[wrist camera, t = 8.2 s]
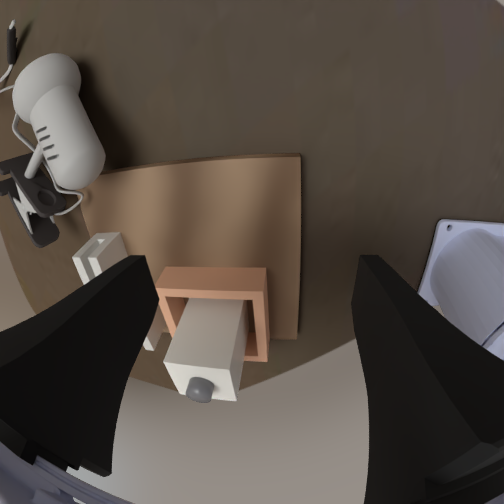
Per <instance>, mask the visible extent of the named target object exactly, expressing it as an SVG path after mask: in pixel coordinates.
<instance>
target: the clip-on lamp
mask: <svg viewBox="0 0 504 504" xmlns="http://www.w3.org/2000/svg"><path fill="white" fill-rule="evenodd" d="M15 23H16V21H15V19H13V21H12V23H11V25H10V27H9V28H8V29H7V59H8V63H9V65H10V66H9V68H8V70H7V72H6V73H5V74H4V75H3V77H2V78H1V79H0V83H1V82H2V81H3V80H4V79H5V78H6V77H7V76H8V75H9V73H10V71H11V69H12V67H13V63H15V61H16V51H17V48H16V42H17V38H16V29H15V27H14V25H15ZM80 86H81V75H80V72H79V68H78V66H77V64H76V63H75V62H74V61H73V60H72V59H71V58H70V57H69V56H67V55H65V54H60V53H53V54H48V55H45V56H42V57H40V58H38V59H36V60H35V61H33V62H32V63H30V64H29V65H28V66H27V67H26V68H25V69H24V70H23V71H22V72H21V73H20V75H19V76H18V78H17V80H16V82H15V85H12V86H9V87H6V88H4V89H2V90H0V93H1V92H3V91H5V90H8V89H11V88H14V89H13V95H12V97H13V104H14V109H15V111H16V115H15V118H14V121H13V125H12V129H13V132H14V133H15V135H16V136H17V137H18V138H19V139H20V140H21V141H23V142H24V143H25V144H26V145H27V146H28V147H29V148H30V149H31V150H32V151H33V153H30V154H26V155H22V156H19V157H15V158H12V159H9V160H5V161H2V162H0V174H1V175H6V174H9V173H10V174H11V176H12V177H11V178H9V179H6V180H3V181H0V196H4V195H6V194H8V196H9V198H10V200H11V202H12V204H13V206H14V208H15V210H16V212H17V214H18V216H19V218H20V220H21V222H22V224H23V226H24V228H25V229H26V231H27V233H28V235H29V237H30V238H31V240H32V242H33V244H34V245H35V246H36V247H39V248H42V247H45V246H47V245H49V244H50V243H52V242H54V241H56V240H57V239H58V237H59V233H60V232H59V229H58V228H57V226H56V224H55V222H54V219H53V215H54V214H55V215H63V214H66V213H68V212H69V211H71V210H72V209H74V208H75V207H76V206H77V205H78V204H79V203H80V202H81V201H82V200H83V198H84V194H83V193H82V192H80V191H71V190H77V189H82V188H84V187H87V186H88V185H90V184H91V183H92V182H94V181H95V180H96V179H97V177H98V176H99V174H100V173H101V171H102V169H103V166H104V163H105V157H106V155H105V152H104V149H103V147H102V145H101V143H100V141H99V139H98V137H97V135H96V133H95V130H94V128H93V126H92V124H91V122H90V120H89V118H88V116H87V114H86V112H85V109H84V107H83V105H82V103H81V101H80V98H79V96H78V95H79V91H80ZM20 118H21V119H22V120H24V121H25V122H27V123H30V124H32V127H33V130H34V132H35V135H36V137H37V140H38V142H39V143H38V145H37V147H35V146H34V145H33V144H32V143H31V142H30V141H29V140H28V139H26V138H25V137H24V136H23V135H22V134H21V133H20V132H19V131H18V129H17V125H18V122H19V119H20ZM41 162H43V164H44V165H45V167H46V168H47V170H48V172H49V174H50V176H51V178H52V180H53V183H54V185H53V184H52V183H51V181H50V180H49V179H48V178H47V177H46V175H45V174H44V173H43V171H42V170H41V169H40V168H39V166H40V164H41ZM60 186H61V187H62V188H65V189H69V190H63V189H61V188H60ZM60 193H65V194H78V195H80V196H81V199H80V200H79V201H78V202H77V203H76V204H75V205H73V206H72V207H70V208H69V209H67V210H64V209H65V206H66V200H65V198H64V197H63V196H62V195H61V194H60ZM63 210H64V211H63Z"/></svg>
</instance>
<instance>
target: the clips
mask: <svg viewBox="0 0 504 504" xmlns="http://www.w3.org/2000/svg"><path fill="white" fill-rule="evenodd" d="M126 257H128V255H127V252H126V249H125V246H124V243H123V240H122V237H121V233H120V232H111V233H96V234H95V235H94V236H93V237H92V238H91V239H90V240H89V241H88V242H87V243H86V244H85V245H84V246H83V247H82V248H81V249H80V250H79V251H78V252H77V253H76V254H75V255H74V256H73V257H72V258H73V261H74V263H75V265H76V268H77V270H78V272H79V275H80V277H81V279H82V281H83V283H84V285H85V284H86V283H88V282H89V281H90V280H92V279H93V278H95V277H96V276H98V275H99V274H101V273H102V272H104V271H105V270H107V269H108V268H110V267H111V266H113V265H114V264H116V263H117V262H119V261H121V260H122V259H124V258H126ZM165 325H166V321H165V319H164V316H163V313H162V311H161V308H160V305H159V303H158V307H157V310H156V314H155V317H154V320H153V323H152V325H151V327H150V330H149V332H148V334H147V336H146V338H145V341H144V343H143V345H144V347H145V349H146V350H153V351H154V350H155V347H156V345H157V343H158V340H159V338H160V336H161V334H162V331H163V329H164V327H165Z"/></svg>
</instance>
